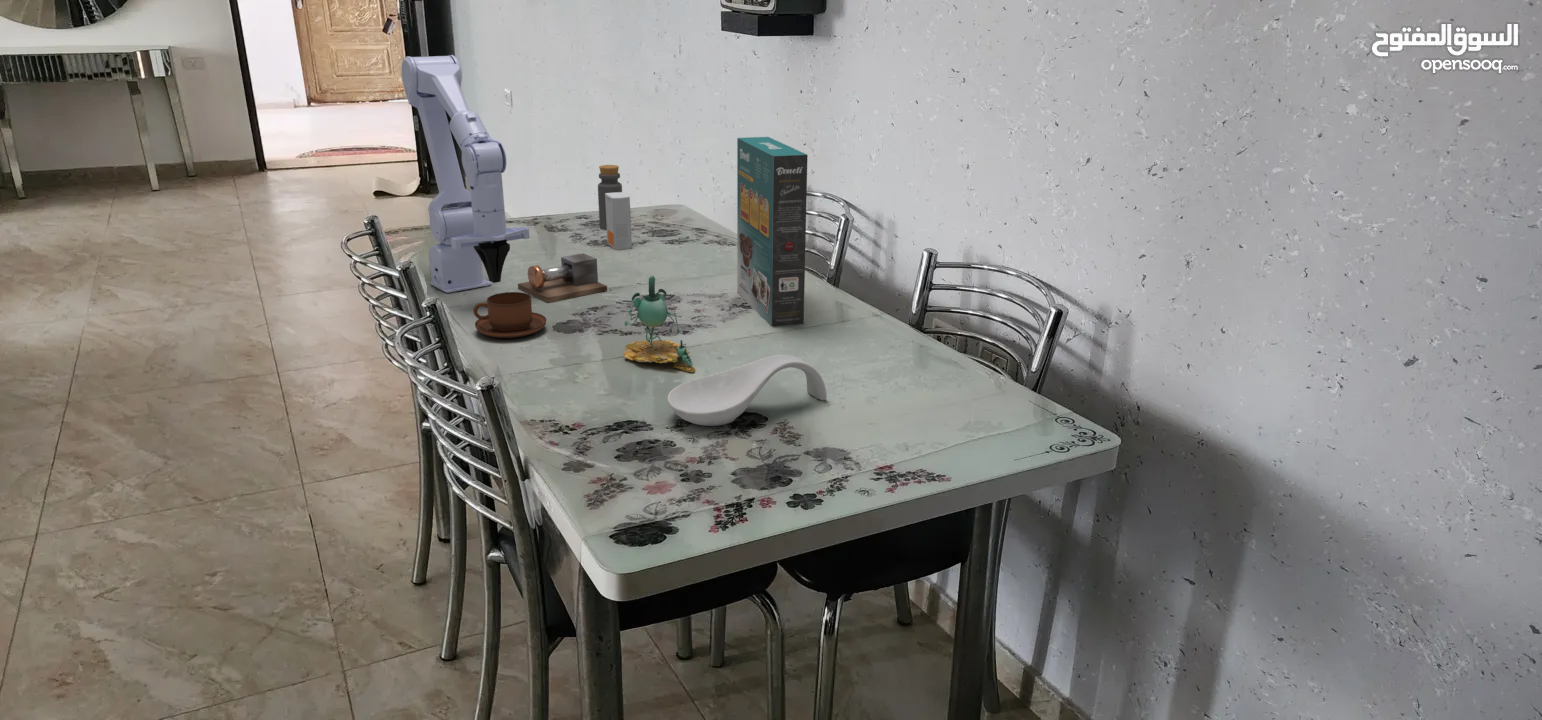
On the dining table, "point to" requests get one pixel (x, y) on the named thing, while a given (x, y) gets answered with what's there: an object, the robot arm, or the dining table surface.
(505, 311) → the cup and saucer
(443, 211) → the robot arm
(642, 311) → the teal creature figurine
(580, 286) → the stand
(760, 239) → the cake mix box
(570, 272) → the shaft
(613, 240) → the skincare box
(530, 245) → the dining table surface
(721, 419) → the spoon rest
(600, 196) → the bottle
